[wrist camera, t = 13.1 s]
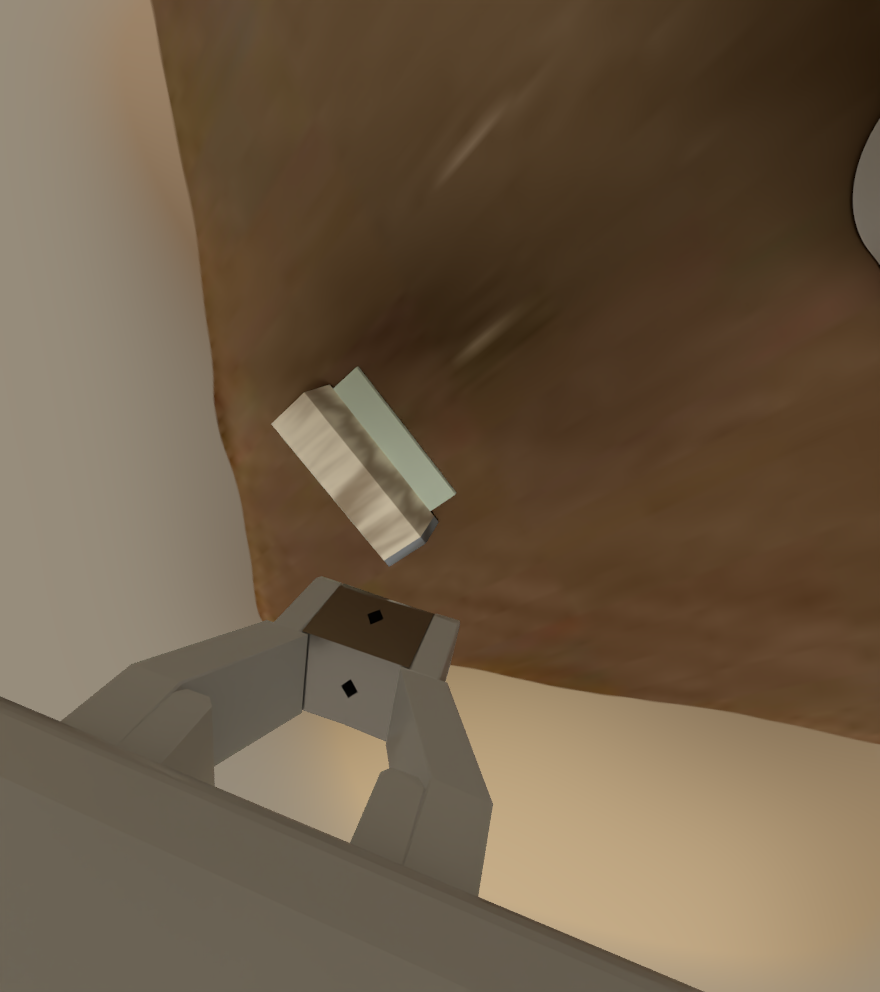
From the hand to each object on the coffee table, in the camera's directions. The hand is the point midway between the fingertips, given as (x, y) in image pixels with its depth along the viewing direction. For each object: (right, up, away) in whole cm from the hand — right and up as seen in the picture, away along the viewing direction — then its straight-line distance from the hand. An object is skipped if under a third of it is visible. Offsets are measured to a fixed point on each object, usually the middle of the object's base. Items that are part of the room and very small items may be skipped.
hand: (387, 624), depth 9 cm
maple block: (-2, -2, +39) cm, 39 cm away
